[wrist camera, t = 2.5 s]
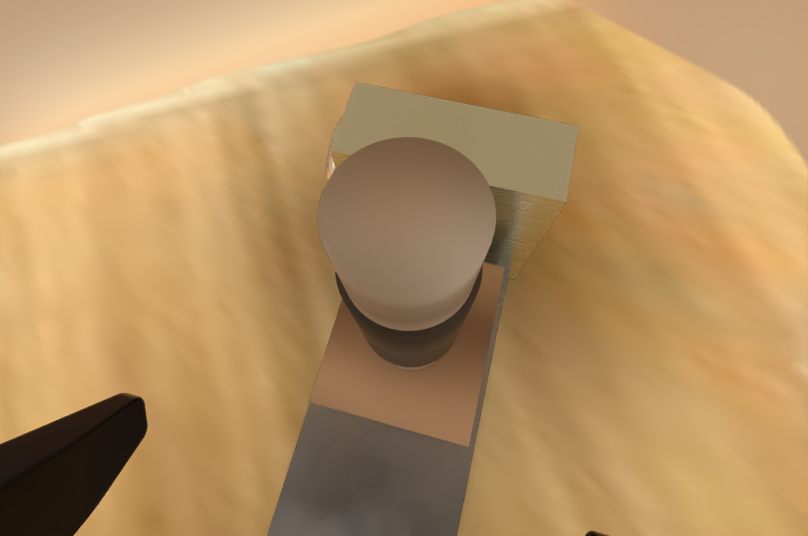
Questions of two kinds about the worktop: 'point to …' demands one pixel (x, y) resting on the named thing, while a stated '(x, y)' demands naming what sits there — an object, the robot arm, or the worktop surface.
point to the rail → (511, 247)
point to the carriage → (409, 286)
